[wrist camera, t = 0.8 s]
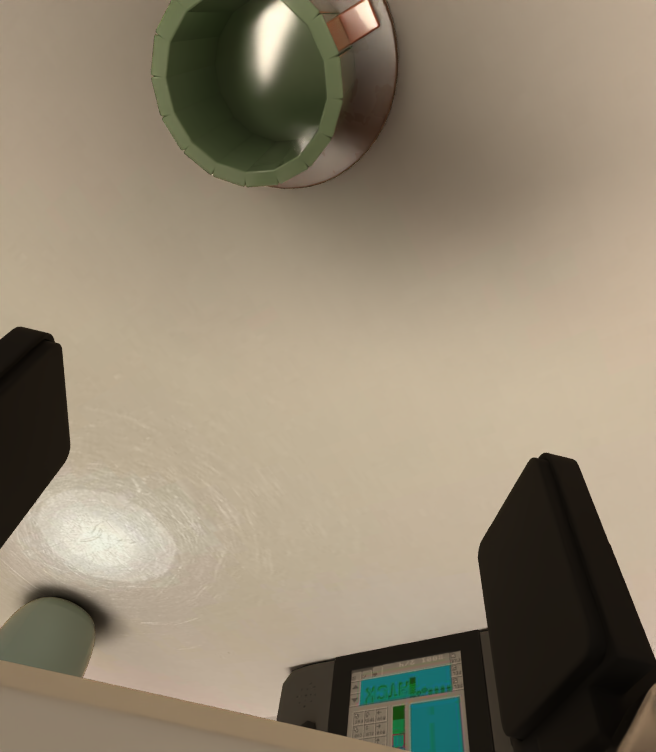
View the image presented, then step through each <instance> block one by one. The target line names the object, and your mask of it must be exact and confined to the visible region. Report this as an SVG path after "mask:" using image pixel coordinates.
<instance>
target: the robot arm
mask: <svg viewBox="0 0 656 752" xmlns="http://www.w3.org/2000/svg"><path fill="white" fill-rule="evenodd" d="M69 451H70V435H69V423H68V412H67V400H66V389H65V377H64V365H63V354H62V347H61V345H60V344H58V343H55V341H54V338H53V336H52V335H51V334H49V333H45V332H41V331H37V330H33V329H29V328H25V327H16V328H14V329H13V330H12V331H10V332H9V333H8V334H7V335H5V336H4V337H3V338H2V339H0V549H1V547H2V546H3V545H4V543H5V542H6V541H7V539H8V538H9V537H10V535H11V534H12V533H13V531H14V530H15V529H16V527H17V526H18V525H19V523H20V522H21V521H22V519H23V518H24V516H25V515H26V514H27V512H28V511H29V510H30V508H31V507H32V506H33V504H34V503H35V502H36V500H37V499H38V498H39V496H40V495H41V494H42V492H43V491H44V490H45V488H46V487H47V486H48V484H49V483H50V482H51V480H52V479H53V478H54V476H55V475H56V474H57V472H58V471H59V470H60V468H61V467H62V466H63V464H64V463H65V461H66V459H67V457H68V455H69ZM478 562H479V569H480V576H481V583H482V590H483V597H484V604H485V611H486V618H487V625H488V632H489V639H490V646H491V653H492V661H493V668H494V675H495V682H496V689H497V696H498V703H499V710H500V717H501V724H502V728H503V731H504V733H505V734H506V736H508V737H511V738H512V745H513V751H514V752H656V659H655V657H654V654H653V652H652V649H651V647H650V644H649V642H648V639H647V636H646V634H645V631H644V629H643V626H642V624H641V621H640V619H639V616H638V614H637V611H636V609H635V606H634V604H633V601H632V598H631V596H630V593H629V591H628V588H627V586H626V583H625V581H624V578H623V576H622V573H621V571H620V568H619V566H618V563H617V560H616V558H615V555H614V553H613V550H612V548H611V546H610V544H609V542H608V539H607V536H606V534H605V531H604V529H603V526H602V524H601V521H600V519H599V516H598V514H597V511H596V509H595V506H594V503H593V501H592V498H591V496H590V493H589V491H588V488H587V486H586V483H585V481H584V478H583V475H582V473H581V470H580V468H579V465H578V464H577V462H576V461H575V460H573V459H570V458H566V457H562V456H558V455H554V454H549V453H543V454H542V455H540V457H539V458H532V459H530V460H529V462H528V463H527V465H526V467H525V468H524V470H523V472H522V473H521V475H520V477H519V478H518V480H517V482H516V484H515V485H514V487H513V489H512V490H511V492H510V494H509V495H508V497H507V499H506V500H505V502H504V504H503V506H502V507H501V509H500V511H499V512H498V514H497V516H496V517H495V519H494V521H493V522H492V524H491V526H490V527H489V529H488V531H487V533H486V534H485V536H484V538H483V539H482V541H481V543H480V546H479V551H478ZM0 752H411V751H406V750H402V749H398V748H393V747H389V746H384V745H380V744H376V743H371V742H367V741H363V740H358V739H354V738H349V737H345V736H341V735H336V734H332V733H328V732H323V731H319V730H314V729H310V728H306V727H301V726H297V725H292V724H288V723H283V722H279V721H274V720H270V719H266V718H261V717H257V716H252V715H248V714H243V713H239V712H234V711H230V710H225V709H221V708H216V707H212V706H207V705H203V704H198V703H194V702H189V701H185V700H180V699H176V698H171V697H167V696H162V695H158V694H153V693H149V692H144V691H140V690H135V689H131V688H126V687H122V686H117V685H113V684H108V683H104V682H99V681H94V680H90V679H85V678H81V677H76V676H71V675H67V674H62V673H58V672H53V671H48V670H44V669H39V668H35V667H30V666H26V665H21V664H16V663H12V662H7V661H3V660H0Z"/></svg>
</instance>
